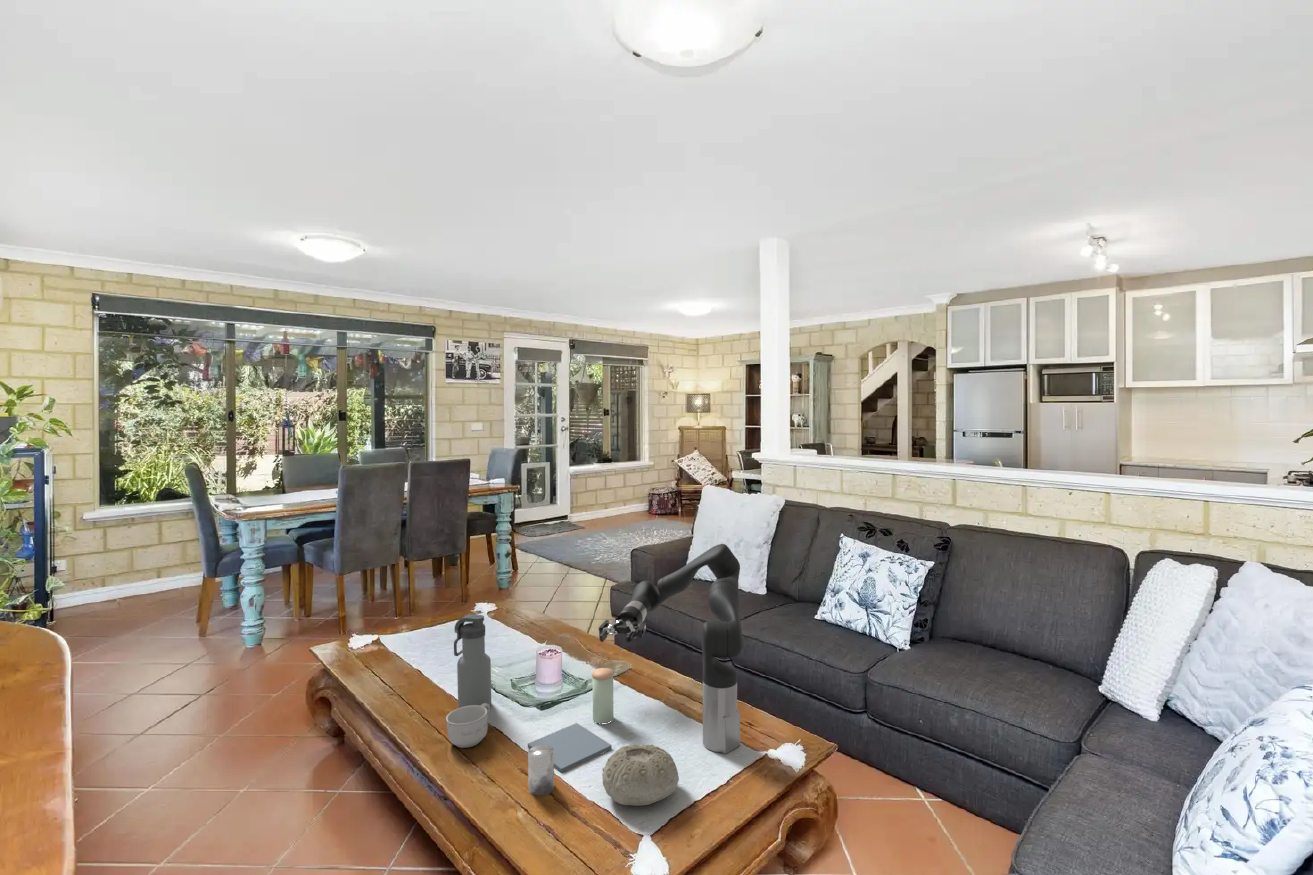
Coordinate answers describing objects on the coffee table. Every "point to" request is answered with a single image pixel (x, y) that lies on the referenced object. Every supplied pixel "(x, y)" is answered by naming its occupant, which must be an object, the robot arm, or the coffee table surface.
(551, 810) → the coffee table surface
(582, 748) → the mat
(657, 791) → the decorative shell
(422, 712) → the coffee table surface
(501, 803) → the coffee table surface
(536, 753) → the steel tin
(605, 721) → the sage tin
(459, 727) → the teacup
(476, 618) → the water bottle
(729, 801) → the coffee table surface
